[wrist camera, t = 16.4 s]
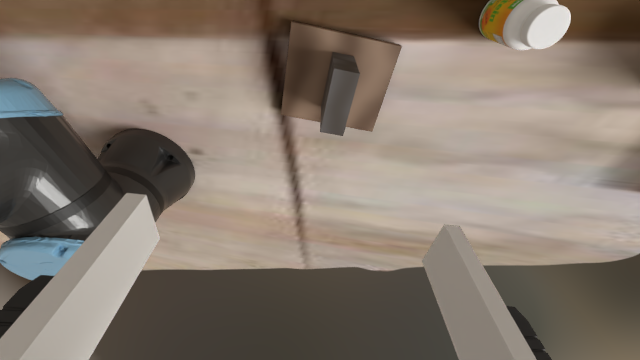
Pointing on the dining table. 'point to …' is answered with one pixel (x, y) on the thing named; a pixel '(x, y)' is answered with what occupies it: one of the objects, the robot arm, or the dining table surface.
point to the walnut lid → (336, 77)
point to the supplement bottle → (524, 23)
